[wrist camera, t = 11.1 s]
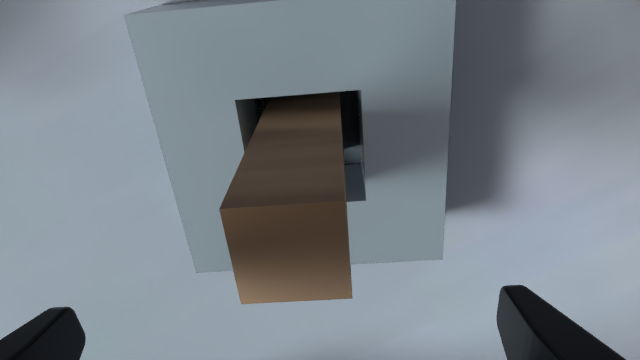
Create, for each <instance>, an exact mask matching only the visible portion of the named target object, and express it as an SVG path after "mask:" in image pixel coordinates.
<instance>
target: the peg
mask: <svg viewBox="0 0 640 360" xmlns="http://www.w3.org/2000/svg"><path fill="white" fill-rule="evenodd" d="M219 211H220V215H221V219H222V224H223V228H224V232H225V237H226V241H227V245H228V250H229V254H230V258H231V263H232V267H233V271H234V276H235V280H236V284H237V288H238V293H239V297H240V301H241V304H252V303H272V302H291V301H311V300H330V299H350V298H352V284H351V267H350V250H349V233H348V215H347V198H346V181H345V164H344V147H343V133H342V119H341V105H340V92H328V93H316V94H303V95H291V96H279V97H269V100H268V102H267V104H266V106H265V109H264V111H263V113H262V115H261V117H260V120H259V122H258V124H257V126H256V128H255V131H254V133H253V135H252V137H251V140H250V142H249V144H248V146H247V148H246V151H245V153H244V155H243V157H242V159H241V162H240V164H239V166H238V168H237V171H236V173H235V175H234V177H233V179H232V182H231V184H230V186H229V188H228V190H227V193H226V195H225V197H224V199H223V202H222V204H221V206H220V208H219Z"/></svg>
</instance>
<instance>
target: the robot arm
mask: <svg viewBox="0 0 640 360" xmlns="http://www.w3.org/2000/svg"><path fill="white" fill-rule="evenodd" d="M497 326H498V330H499V333H500V337H501V340H502V343H503V347H504V350H505V353H506V357H507V360H626V359H625V358H623V357H622V356H620V355H619V354H618V353H616V352H615V351H614V350H612V349H611V348H609V347H608V346H607V345H605V344H604V343H603V342H601V341H600V340H598V339H597V338H596V337H594V336H593V335H592V334H590V333H589V332H587V331H586V330H585V329H583V328H582V327H581V326H579V325H578V324H576V323H575V322H574V321H572V320H571V319H570V318H568V317H567V316H565V315H564V314H563V313H561V312H560V311H558V310H557V309H556V308H554V307H553V306H552V305H550V304H549V303H547V302H546V301H545V300H543V299H542V298H541V297H539V296H538V295H536V294H535V293H534V292H532V291H531V290H530V289H528V288H527V287H525V286H523V285H509V286H503V287H502V288H501V290H500V295H499V302H498V310H497ZM84 345H85V333H84V330H83V328H82V326H81V324H80V322H79V320H78V318H77V316H76V313H75V312H74V310H73V309H72V308H70V307H54V308H50V309H48V310H46V311H44V312H43V313H41V314H40V315H38V316H37V317H35V318H34V319H32V320H30V321H29V322H27V323H26V324H24V325H23V326H21V327H20V328H18V329H17V330H15V331H13V332H12V333H10V334H9V335H7V336H6V337H4V338H3V339H1V340H0V360H79V359H80V357H81V354H82V351H83V349H84Z"/></svg>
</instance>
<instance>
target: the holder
mask: <svg viewBox="0 0 640 360" xmlns="http://www.w3.org/2000/svg"><path fill="white" fill-rule="evenodd" d="M455 11H456V0H206V1H195V2H185V3H174V4H164V5H158V6H155V7H151V8H147V9H144V10H140V11H137V12H133V13H129V14H126V15H124V17H125V21H126V24H127V28H128V31H129V35H130V39H131V42H132V46H133V49H134V53H135V56H136V60H137V64H138V67H139V71H140V74H141V78H142V81H143V85H144V88H145V92H146V96H147V99H148V103H149V106H150V110H151V113H152V117H153V121H154V124H155V128H156V131H157V135H158V138H159V142H160V145H161V149H162V153H163V156H164V160H165V163H166V167H167V170H168V174H169V178H170V181H171V185H172V188H173V192H174V195H175V199H176V202H177V206H178V210H179V213H180V217H181V220H182V224H183V227H184V231H185V235H186V238H187V242H188V245H189V249H190V252H191V256H192V259H193V263H194V267H195V270H196V273H201V272H219V271H233V267H232V263H231V258H230V254H229V250H228V245H227V241H226V237H225V232H224V228H223V224H222V219H221V215H220V211H219V208H220V206H221V204H222V202H223V199H224V197H225V195H226V193H227V190H228V188H229V186H230V184H231V182H232V179H233V177H234V175H235V173H236V171H237V168H238V166H239V164H240V162H241V159H242V157H243V155H244V153H245V151H246V148H247V146H248V144H249V142H250V140H251V137H252V135H253V133H254V131H255V128H256V126H257V124H258V117H257V111H256V104H255V98H266V97H279V96H291V95H303V94H316V93H328V92H341V91H353V90H357V93H358V113H359V133H360V153H361V164H354V165H345V181H346V198H347V215H348V233H349V250H350V264H366V263H384V262H403V261H421V260H439V259H443V241H444V222H445V203H446V184H447V164H448V145H449V126H450V107H451V88H452V69H453V49H454V30H455Z"/></svg>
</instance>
